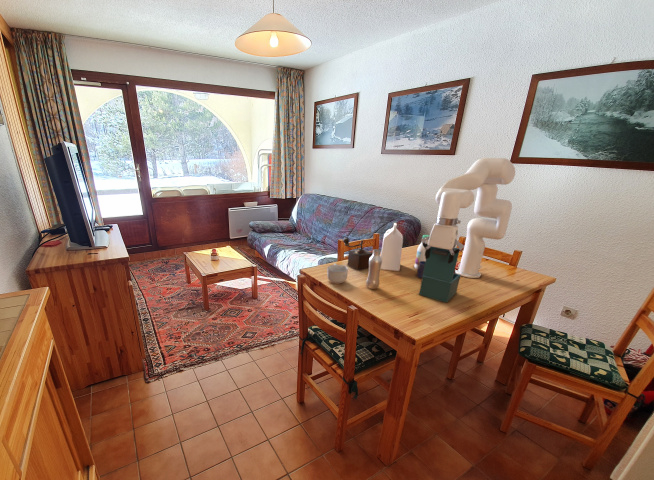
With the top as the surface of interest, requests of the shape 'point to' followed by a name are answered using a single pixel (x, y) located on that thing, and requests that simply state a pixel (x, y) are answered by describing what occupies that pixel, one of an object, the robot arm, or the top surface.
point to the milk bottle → (421, 253)
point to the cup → (420, 269)
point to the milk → (392, 249)
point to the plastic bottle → (374, 269)
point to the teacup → (337, 273)
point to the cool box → (439, 288)
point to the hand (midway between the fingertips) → (438, 260)
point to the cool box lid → (440, 264)
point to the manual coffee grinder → (358, 256)
